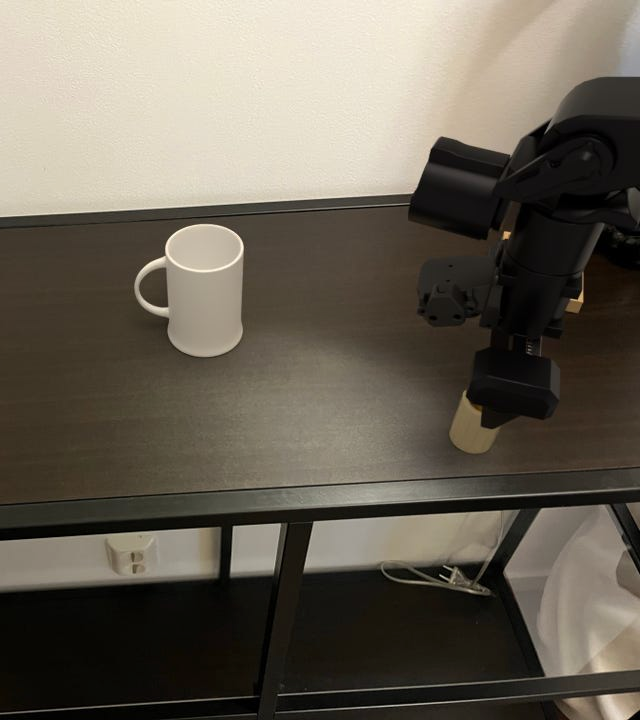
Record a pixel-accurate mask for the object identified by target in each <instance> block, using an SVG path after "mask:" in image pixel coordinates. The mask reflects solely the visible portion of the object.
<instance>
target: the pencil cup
mask: <svg viewBox="0 0 640 720" xmlns="http://www.w3.org/2000/svg"><path fill="white" fill-rule="evenodd" d="M465 396H466V389H465V390H464V391H463V392H462V395H461V398H460V401H459V402H458V406H457V408H456V412H455V414H454V417H453V419H452V422H451V426H450V429H449V433H448V434H449V438H450V441H451V443H452V444H453V445H454V446H455V447H456V448H458V449H459V450H460V451H462V452H464V453H468V454H472V455H473V454H474V455H477V454H483V453H485V452H487V451H489V450H490V449H491V448H492V446H493V444H494V442H495V440H496V438H497V437H498V433H499V431H500V430H501V429H500V428H501V427H502V425H501V426H499V427H497V428H495V429H487V428H483V427H481V426H480V423H481V412H480V411H478V410H476V409H475V406H476V405H475V404H472V403H471V402H470V401H469V400H468V399H467V398H466V397H465Z"/></svg>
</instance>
